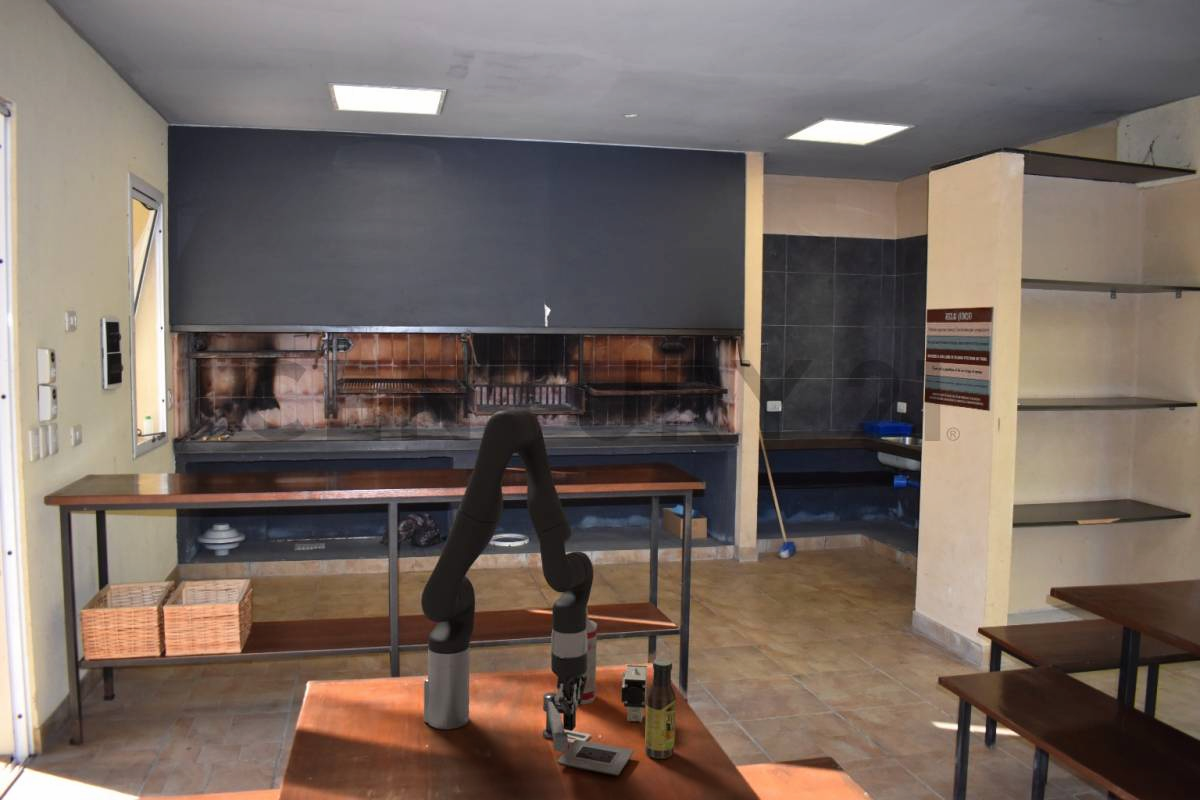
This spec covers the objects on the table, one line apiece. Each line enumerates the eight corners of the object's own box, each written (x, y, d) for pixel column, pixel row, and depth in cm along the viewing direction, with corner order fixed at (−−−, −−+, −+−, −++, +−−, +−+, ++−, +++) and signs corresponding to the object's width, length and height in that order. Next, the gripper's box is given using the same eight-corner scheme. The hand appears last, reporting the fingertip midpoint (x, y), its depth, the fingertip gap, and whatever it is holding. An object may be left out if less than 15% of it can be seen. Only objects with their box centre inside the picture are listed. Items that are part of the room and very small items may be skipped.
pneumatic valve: (645, 708, 212) (647, 659, 211) (644, 730, 200) (645, 678, 199) (622, 707, 212) (623, 658, 211) (619, 729, 201) (620, 677, 200)
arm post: (539, 737, 196) (540, 712, 196) (547, 730, 199) (547, 705, 199) (554, 740, 195) (554, 715, 194) (561, 733, 198) (562, 708, 197)
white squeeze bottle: (567, 689, 222) (569, 591, 220) (596, 692, 221) (599, 592, 218) (561, 703, 214) (563, 600, 212) (592, 705, 213) (594, 602, 211)
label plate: (555, 740, 195) (556, 738, 195) (566, 730, 199) (566, 728, 199) (580, 746, 192) (580, 743, 192) (590, 736, 197) (590, 734, 197)
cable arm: (542, 705, 198) (542, 692, 198) (558, 705, 198) (558, 692, 198) (551, 751, 177) (552, 737, 177) (569, 750, 177) (570, 736, 177)
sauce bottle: (670, 763, 186) (673, 669, 184) (641, 758, 188) (643, 665, 186) (677, 749, 192) (680, 658, 190) (648, 744, 194) (651, 655, 192)
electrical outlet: (633, 759, 188) (634, 748, 188) (618, 783, 178) (618, 771, 178) (575, 748, 192) (575, 738, 192) (556, 771, 182) (557, 760, 182)
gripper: (566, 635, 193) (566, 712, 195) (538, 657, 181) (539, 739, 183) (598, 640, 190) (598, 718, 192) (572, 663, 178) (572, 746, 180)
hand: (569, 728), depth 187 cm, fingers closed
